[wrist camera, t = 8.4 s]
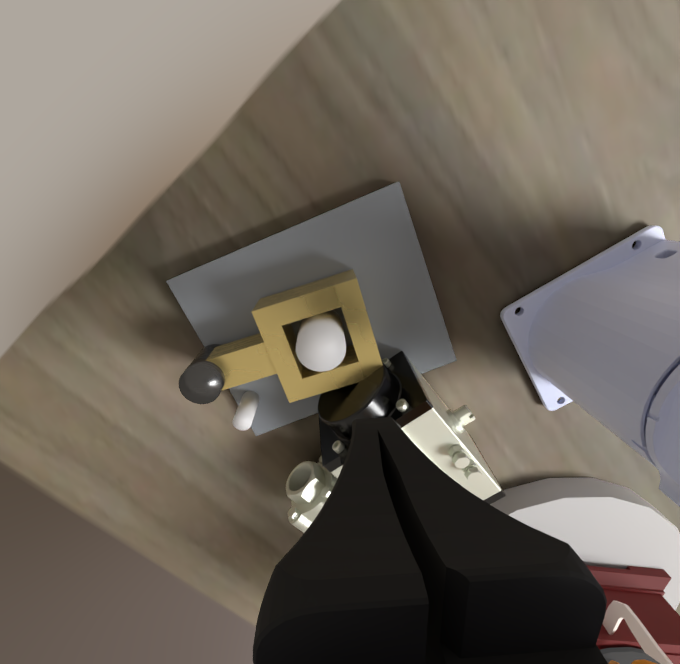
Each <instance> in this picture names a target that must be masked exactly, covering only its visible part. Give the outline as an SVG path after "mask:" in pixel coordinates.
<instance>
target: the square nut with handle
mask: <svg viewBox="0 0 680 664" xmlns="http://www.w3.org/2000/svg"><path fill="white" fill-rule="evenodd" d="M340 307H341V308H342V311H343V314H344V317H345V320H346V324H347V327H348V330H349V333H350V336H351V339H352V342H353V345H351V346H347V347H346V354H345V357H344V359H343V360H342V362H341V363H340V364H339V365H338V366H337V367H335V368H334V369H331V370H329V371H323V372H318V371H313V370H311V369H308V368H307V367H305V366H304V365H303V364H302V363H301V362H300V361H299V359H298V357H297V354H296V342H297V338H296V336H295V333H294V330H293V328H292V325H291V323H292V322H295V321H298V320H302V319H305V318H308V317H311V316H314V315H317V314H321V313H324V312H327V311H330V310H333V309H337V308H340ZM252 314H253V317H254V319H255V322H256V324H257V326H258V329H259V331H260V333H259V334H255V335H252V336H249V337H246V338H243V339H240V340H236V341H233V342H230V343H227V344H224V345H218V344H212V345H208V346H206V347H205V348H203V349H202V350H201V352H200V353H199V354H198V355H197V357H196V358H195V359H194V360H193V362H192V363H191V364H190V365H189V366H188V368H187V369H186V370H185V371H184V373H183V374H182V375H181V377H180V379H179V388H180V391H181V393H182V394H183V396H184V397H185V398H186V399H188V400H189V401H191V402H193V403H197V404H207V403H210V402H212V401H214V400H215V399H216V398H217V397H218V396H219V394H220V392H221V391H222V390H225V389H228V388H232V387H235V386H238V385H242V384H245V383H248V382H251V381H255V380H258V379H261V378H264V377H268V376H271V375H274V374H277V375H278V377H279V379H280V382H281V384H282V387H283V389H284V391H285V394H286V396H287V399H288V401H289V403H291V402H294V401H298V400H301V399H304V398H308V397H311V396H314V395H318V394H321V393H324V392H328V391H331V390H335V389H338V388H341V387H345V386H348V385H351V384H355V383H358V382H360V381H362V380H363V379H365V378H366V377H367V376H369V375H370V374H372V373H373V372H374V371H376V370H377V369H379V368H380V367H382V366H383V364H382V361H381V357H380V354H379V351H378V347H377V344H376V341H375V337H374V334H373V331H372V327H371V324H370V321H369V317H368V314H367V311H366V307H365V304H364V301H363V297H362V294H361V291H360V287H359V284H358V281H357V278H356V275H355V273H354V271H353V269H351V270H348V271H345V272H342V273H339V274H336V275H333V276H330V277H326V278H323V279H320V280H317V281H314V282H311V283H308V284H305V285H301V286H298V287H295V288H292V289H289V290H286V291H283V292H280V293H276V294H273V295H270V296H267V297H264V298H261V299H259V301H258V302H257V304H256V305H255V307H254V308H253V310H252Z"/></svg>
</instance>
